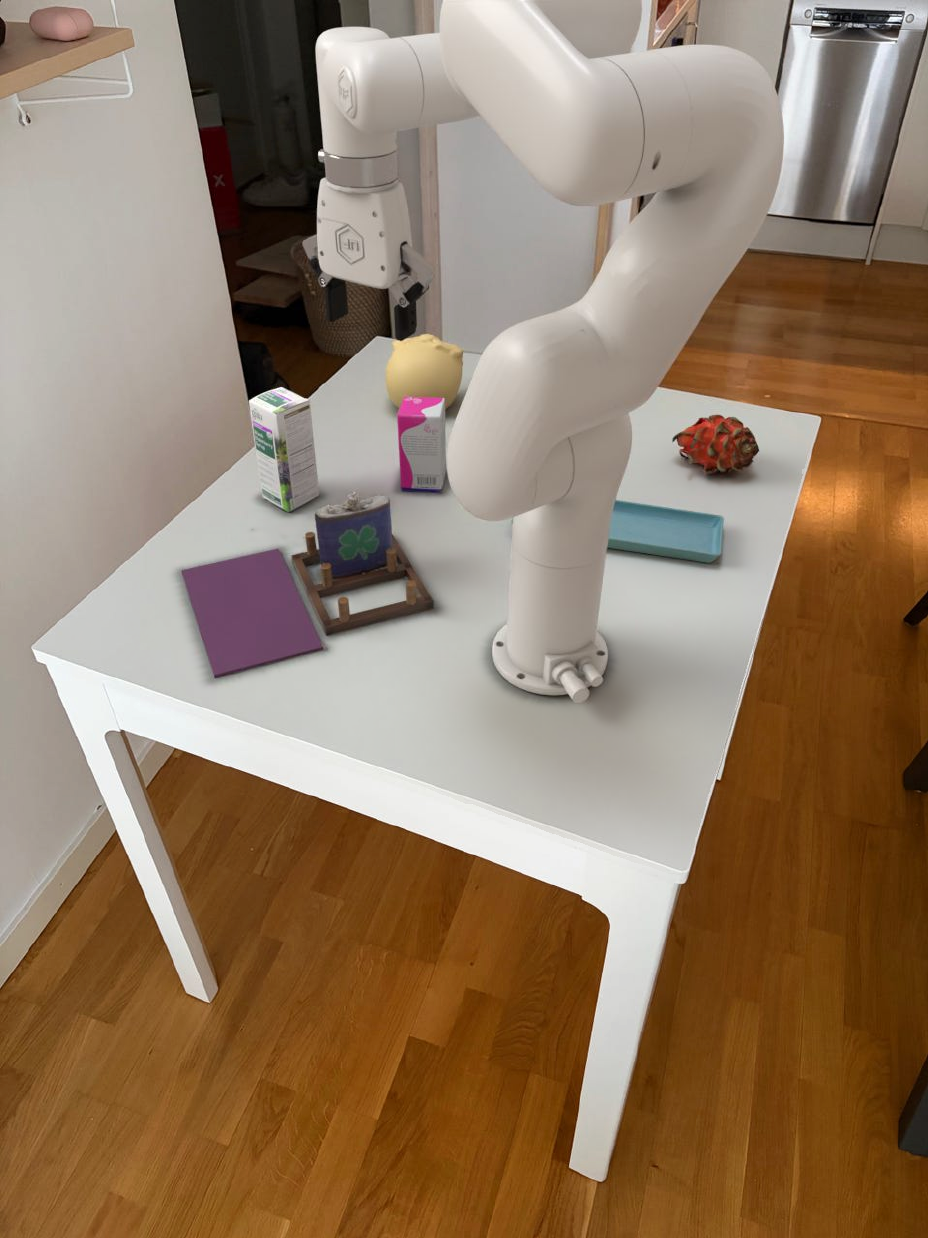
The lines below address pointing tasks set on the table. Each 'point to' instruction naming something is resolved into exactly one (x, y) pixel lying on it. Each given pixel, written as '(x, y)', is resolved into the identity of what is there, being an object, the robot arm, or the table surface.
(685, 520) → the teal serving tray
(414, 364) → the sculpture
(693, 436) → the dragon fruit
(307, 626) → the mat
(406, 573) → the dish rack
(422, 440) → the supplement box
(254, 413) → the syrup box
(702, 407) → the table surface
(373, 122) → the robot arm
